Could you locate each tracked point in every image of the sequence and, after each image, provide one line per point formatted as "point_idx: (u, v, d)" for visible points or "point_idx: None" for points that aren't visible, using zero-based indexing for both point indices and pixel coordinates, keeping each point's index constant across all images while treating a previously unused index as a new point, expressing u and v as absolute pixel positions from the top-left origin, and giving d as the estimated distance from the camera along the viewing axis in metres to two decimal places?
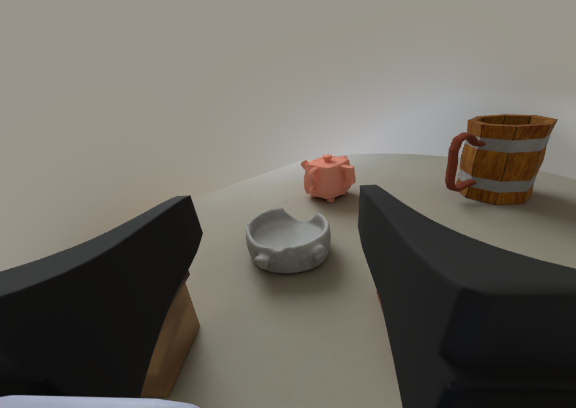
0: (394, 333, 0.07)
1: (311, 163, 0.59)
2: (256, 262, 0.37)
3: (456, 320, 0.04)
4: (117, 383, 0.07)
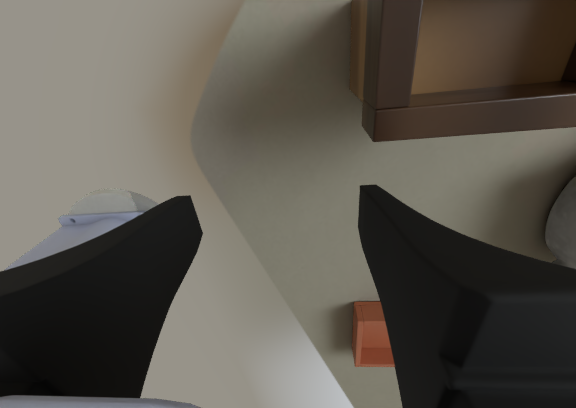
0: (394, 333, 0.07)
1: None
2: None
3: (456, 320, 0.04)
4: (117, 383, 0.07)
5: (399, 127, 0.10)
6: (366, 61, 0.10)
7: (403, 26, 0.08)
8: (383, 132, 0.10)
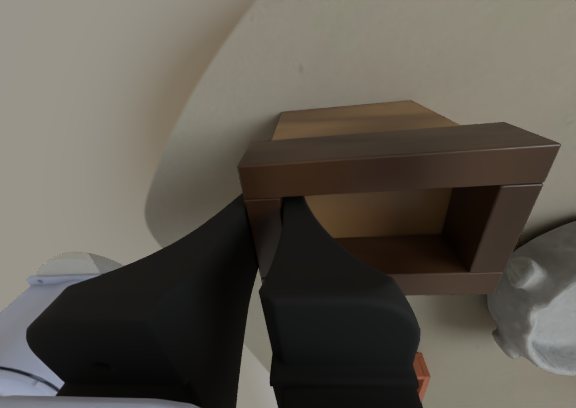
0: None
1: None
2: (523, 266, 0.18)
3: (267, 322, 0.04)
4: (225, 385, 0.07)
5: None
6: None
7: (268, 228, 0.09)
8: None
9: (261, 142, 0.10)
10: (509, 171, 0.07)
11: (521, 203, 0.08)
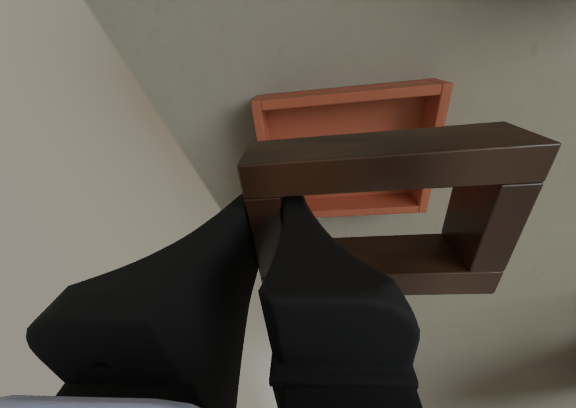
0: None
1: None
2: None
3: (267, 321, 0.04)
4: (225, 385, 0.07)
5: None
6: None
7: (268, 228, 0.09)
8: None
9: (261, 142, 0.10)
10: (509, 170, 0.07)
11: (521, 203, 0.08)
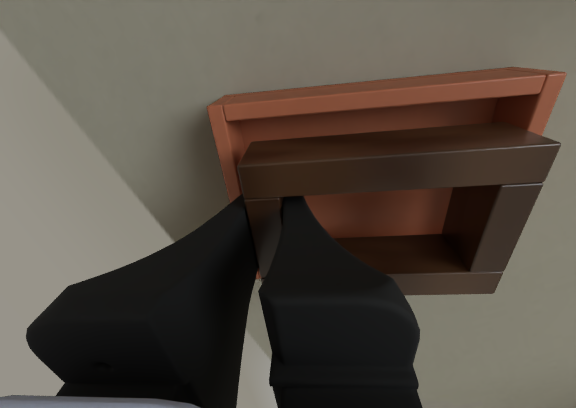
0: None
1: None
2: None
3: (267, 321, 0.04)
4: (225, 385, 0.07)
5: None
6: None
7: (268, 228, 0.09)
8: None
9: (261, 142, 0.10)
10: (509, 171, 0.07)
11: (521, 203, 0.08)
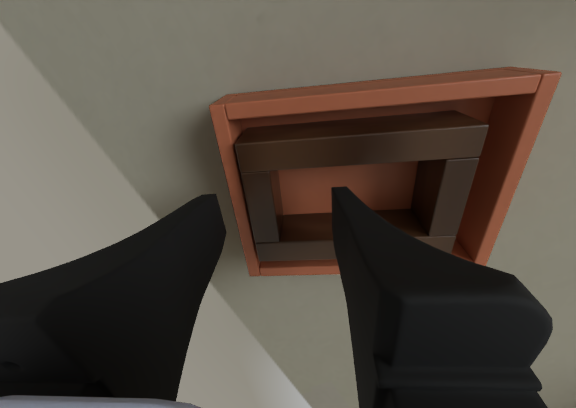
0: (353, 333, 0.07)
1: None
2: None
3: (381, 321, 0.04)
4: (157, 384, 0.07)
5: (275, 253, 0.12)
6: None
7: (261, 198, 0.11)
8: (264, 256, 0.13)
9: (255, 127, 0.12)
10: (451, 147, 0.09)
11: (464, 174, 0.10)
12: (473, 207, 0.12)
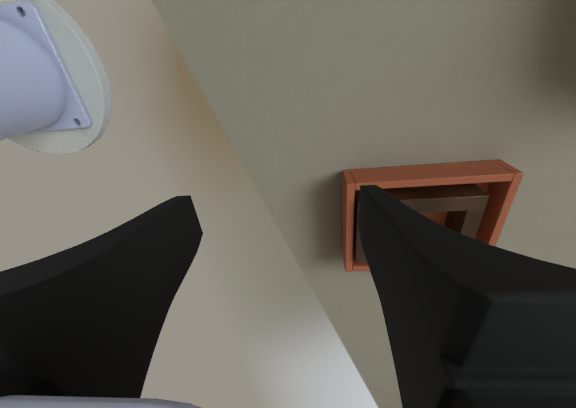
0: (394, 333, 0.07)
1: None
2: None
3: (456, 321, 0.04)
4: (117, 383, 0.07)
5: None
6: None
7: None
8: (360, 259, 0.22)
9: None
10: (470, 205, 0.19)
11: (476, 217, 0.19)
12: (480, 231, 0.22)
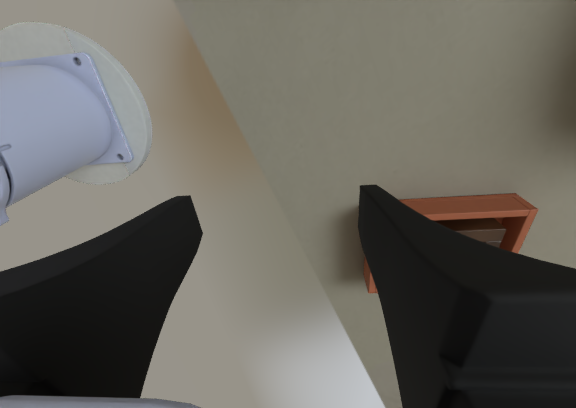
0: (394, 333, 0.07)
1: None
2: None
3: (455, 320, 0.04)
4: (117, 383, 0.07)
5: None
6: None
7: None
8: None
9: None
10: (488, 237, 0.20)
11: None
12: None
